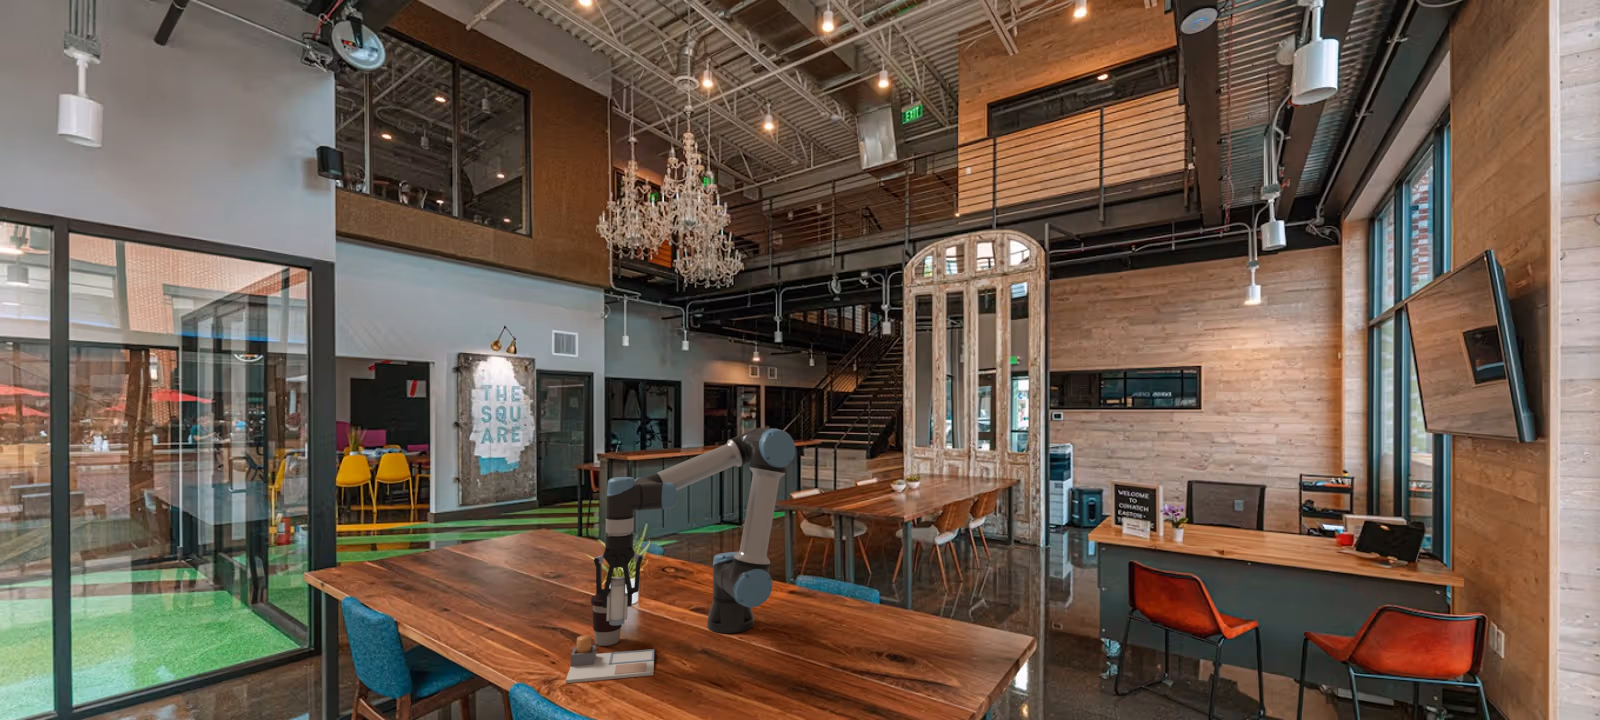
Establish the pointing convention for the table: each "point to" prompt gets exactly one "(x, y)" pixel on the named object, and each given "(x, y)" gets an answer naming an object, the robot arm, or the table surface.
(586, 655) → the sheet board
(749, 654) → the table surface
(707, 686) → the table surface
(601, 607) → the coffee cup
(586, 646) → the button
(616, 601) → the cylinder
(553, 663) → the table surface
